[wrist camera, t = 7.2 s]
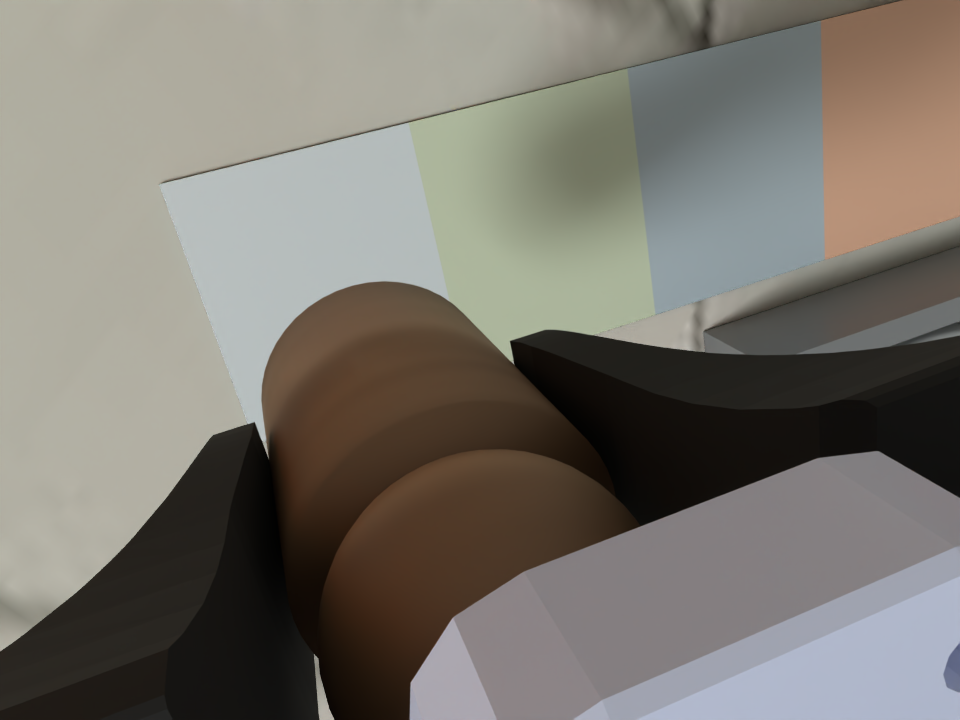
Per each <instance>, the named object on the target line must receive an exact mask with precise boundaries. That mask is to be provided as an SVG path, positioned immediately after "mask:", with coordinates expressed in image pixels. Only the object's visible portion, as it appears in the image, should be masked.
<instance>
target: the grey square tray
mask: <svg viewBox="0 0 960 720" xmlns="http://www.w3.org/2000/svg"><path fill="white" fill-rule="evenodd" d="M959 321H960V246H959V247H956V248H953V249H950V250H947V251H944V252H941V253H938V254H935V255H932V256H929V257H926V258H923V259H920V260H917V261H914V262H911V263H908V264H905V265H902V266H899V267H896V268H893V269H890V270H887V271H884V272H881V273H878V274H875V275H872V276H869V277H866V278H863V279H860V280H857V281H854V282H851V283H848V284H845V285H842V286H839V287H836V288H833V289H830V290H827V291H824V292H821V293H818V294H815V295H812V296H809V297H806V298H803V299H800V300H797V301H794V302H791V303H788V304H785V305H782V306H779V307H776V308H773V309H770V310H767V311H764V312H761V313H758V314H755V315H752V316H749V317H746V318H743V319H740V320H737V321H734V322H731V323H728V324H725V325H722V326H719V327H716V328H713V329H710V330H707V331H704V332H703V333H704V344H705V352H707V353H721V354H745V355H793V354H817V353H835V352H846V351H857V350H867V349H875V348H883V347H889V346H892V345H895V344H898V343H900V342H903V341H906V340H909V339H912V338H914V337H917V336H920V335H923V334H926V333H928V332H931V331H934V330H937V329H939V328H942V327H945V326H948V325H951V324H953V323H956V322H959Z"/></svg>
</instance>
